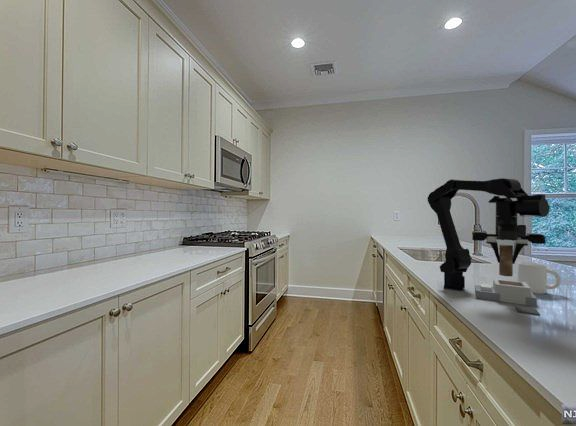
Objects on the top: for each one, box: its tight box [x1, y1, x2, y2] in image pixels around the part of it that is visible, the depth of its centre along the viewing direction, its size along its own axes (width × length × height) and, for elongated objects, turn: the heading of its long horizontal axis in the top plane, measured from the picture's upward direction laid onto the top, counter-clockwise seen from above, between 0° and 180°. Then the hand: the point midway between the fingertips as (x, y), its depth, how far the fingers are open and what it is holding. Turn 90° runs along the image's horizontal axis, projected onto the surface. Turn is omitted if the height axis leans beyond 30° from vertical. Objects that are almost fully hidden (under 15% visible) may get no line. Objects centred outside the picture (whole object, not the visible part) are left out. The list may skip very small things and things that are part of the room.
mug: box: [517, 261, 562, 295], centre depth 103 cm, size 12×8×10 cm
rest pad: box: [514, 305, 541, 317], centre depth 83 cm, size 5×5×1 cm
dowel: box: [498, 244, 514, 277], centre depth 92 cm, size 4×4×10 cm
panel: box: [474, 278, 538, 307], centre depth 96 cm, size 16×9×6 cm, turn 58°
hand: (505, 263), depth 92 cm, fingers closed on dowel, 3 cm apart
